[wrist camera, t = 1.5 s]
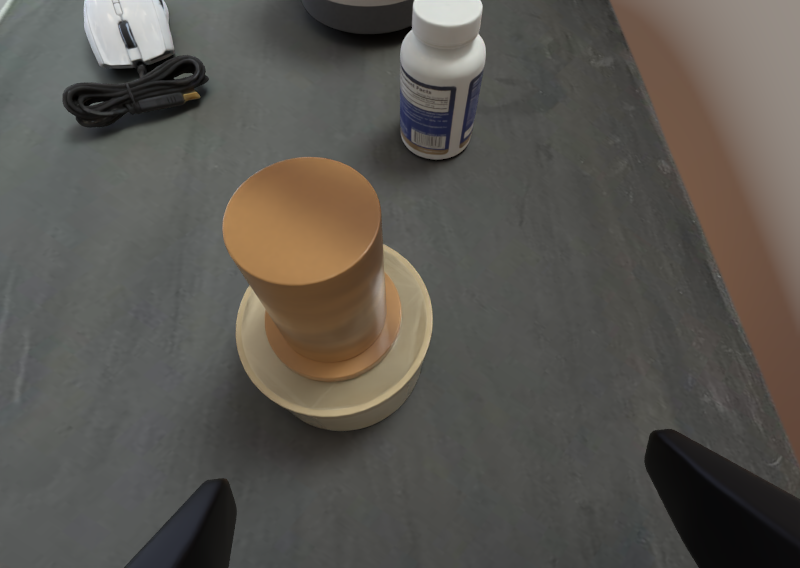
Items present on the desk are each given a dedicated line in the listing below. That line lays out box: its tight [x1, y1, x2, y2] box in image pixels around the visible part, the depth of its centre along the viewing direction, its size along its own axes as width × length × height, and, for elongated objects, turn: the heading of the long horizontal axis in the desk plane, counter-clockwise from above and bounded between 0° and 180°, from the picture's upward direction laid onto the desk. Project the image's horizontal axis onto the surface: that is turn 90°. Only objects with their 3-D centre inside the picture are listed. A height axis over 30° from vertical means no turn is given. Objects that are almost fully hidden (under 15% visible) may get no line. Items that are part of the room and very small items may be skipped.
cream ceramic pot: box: [236, 245, 433, 431], centre depth 23 cm, size 9×9×5 cm
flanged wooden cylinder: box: [223, 157, 402, 382], centre depth 17 cm, size 6×6×8 cm
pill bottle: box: [400, 0, 486, 160], centre depth 29 cm, size 5×5×10 cm
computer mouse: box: [63, 0, 209, 127], centre depth 36 cm, size 10×18×4 cm, turn 24°
